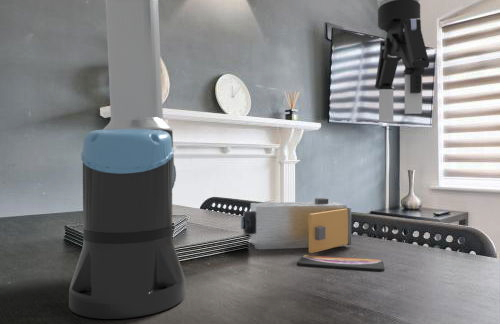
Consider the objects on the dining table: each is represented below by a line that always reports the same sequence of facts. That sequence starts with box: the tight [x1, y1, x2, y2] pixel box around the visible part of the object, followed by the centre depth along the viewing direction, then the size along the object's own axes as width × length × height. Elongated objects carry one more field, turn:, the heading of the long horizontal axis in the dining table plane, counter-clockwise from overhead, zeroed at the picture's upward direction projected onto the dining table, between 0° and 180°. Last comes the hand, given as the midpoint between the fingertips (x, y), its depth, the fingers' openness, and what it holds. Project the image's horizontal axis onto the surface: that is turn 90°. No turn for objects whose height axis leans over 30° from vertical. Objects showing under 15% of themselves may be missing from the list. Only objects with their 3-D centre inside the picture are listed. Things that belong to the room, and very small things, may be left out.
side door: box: [308, 207, 352, 254], centre depth 82 cm, size 14×2×8 cm, turn 133°
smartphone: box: [297, 254, 385, 272], centre depth 73 cm, size 8×1×15 cm
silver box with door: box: [240, 197, 348, 250], centre depth 90 cm, size 23×8×10 cm, turn 98°
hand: (398, 117), depth 76 cm, fingers open, 13 cm apart
